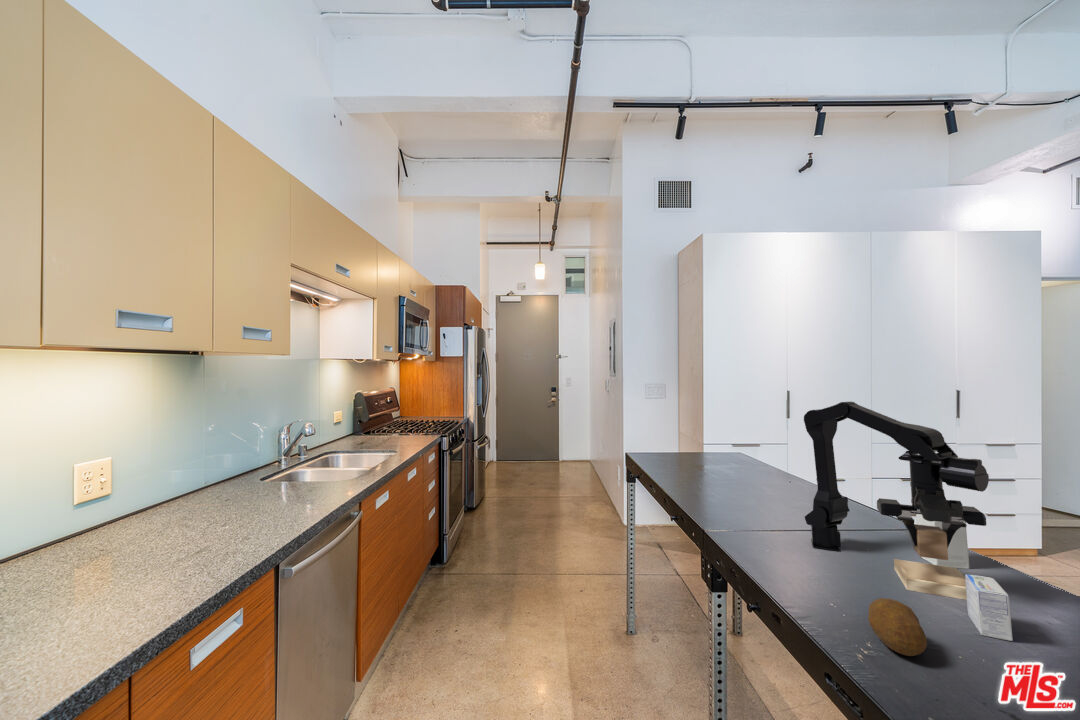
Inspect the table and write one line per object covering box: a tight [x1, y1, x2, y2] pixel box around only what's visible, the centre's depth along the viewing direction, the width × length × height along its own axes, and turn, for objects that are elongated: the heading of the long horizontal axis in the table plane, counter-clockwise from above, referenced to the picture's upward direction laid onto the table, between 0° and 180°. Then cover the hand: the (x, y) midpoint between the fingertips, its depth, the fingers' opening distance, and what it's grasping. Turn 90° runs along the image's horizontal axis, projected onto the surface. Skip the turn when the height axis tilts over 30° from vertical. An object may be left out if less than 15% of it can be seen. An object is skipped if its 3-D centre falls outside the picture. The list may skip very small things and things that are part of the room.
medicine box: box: [964, 574, 1014, 642], centre depth 84 cm, size 8×4×9 cm, turn 148°
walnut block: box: [913, 523, 948, 560], centre depth 102 cm, size 5×5×6 cm
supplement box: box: [915, 510, 970, 570], centre depth 113 cm, size 7×7×13 cm
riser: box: [893, 558, 967, 601], centre depth 102 cm, size 12×12×3 cm
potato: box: [867, 597, 928, 657], centre depth 80 cm, size 8×12×8 cm, turn 169°
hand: (929, 547), depth 102 cm, fingers closed on walnut block, 5 cm apart
